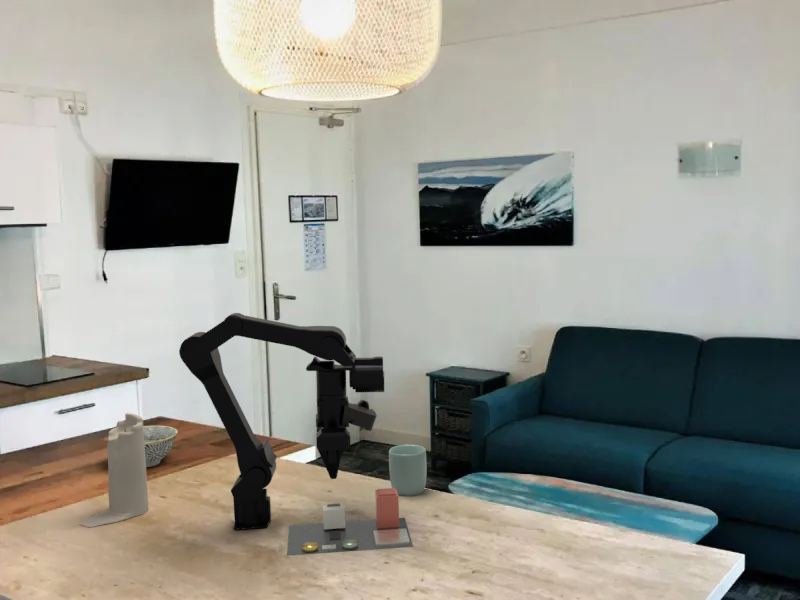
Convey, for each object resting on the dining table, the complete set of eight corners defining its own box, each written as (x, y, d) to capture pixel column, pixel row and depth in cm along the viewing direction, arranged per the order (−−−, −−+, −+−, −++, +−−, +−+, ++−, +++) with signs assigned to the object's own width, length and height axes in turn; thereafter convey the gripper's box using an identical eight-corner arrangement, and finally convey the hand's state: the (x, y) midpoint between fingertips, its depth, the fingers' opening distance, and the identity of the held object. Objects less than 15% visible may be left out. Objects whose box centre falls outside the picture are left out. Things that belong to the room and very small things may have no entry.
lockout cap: (377, 528, 155) (376, 495, 154) (376, 520, 159) (375, 488, 158) (399, 526, 155) (398, 494, 154) (397, 519, 159) (396, 487, 158)
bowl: (193, 459, 206) (191, 429, 206) (142, 477, 193) (140, 446, 192) (149, 451, 215) (147, 422, 214) (97, 468, 202) (95, 437, 201)
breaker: (323, 529, 154) (323, 509, 154) (323, 523, 157) (322, 503, 157) (345, 527, 155) (344, 508, 154) (344, 522, 158) (344, 502, 157)
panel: (287, 562, 144) (286, 551, 144) (289, 531, 158) (289, 521, 157) (413, 553, 146) (413, 542, 146) (404, 523, 160) (404, 514, 160)
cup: (423, 503, 171) (422, 455, 170) (386, 501, 172) (385, 454, 171) (429, 490, 178) (428, 444, 177) (394, 488, 180) (393, 443, 179)
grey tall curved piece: (74, 522, 166) (66, 424, 164) (137, 502, 176) (131, 410, 174) (91, 530, 161) (84, 429, 159) (155, 510, 171) (149, 415, 169)
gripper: (377, 402, 151) (378, 485, 153) (369, 381, 170) (370, 456, 172) (315, 404, 150) (317, 488, 152) (315, 383, 169) (316, 458, 170)
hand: (333, 471), depth 162 cm, fingers open, 8 cm apart
